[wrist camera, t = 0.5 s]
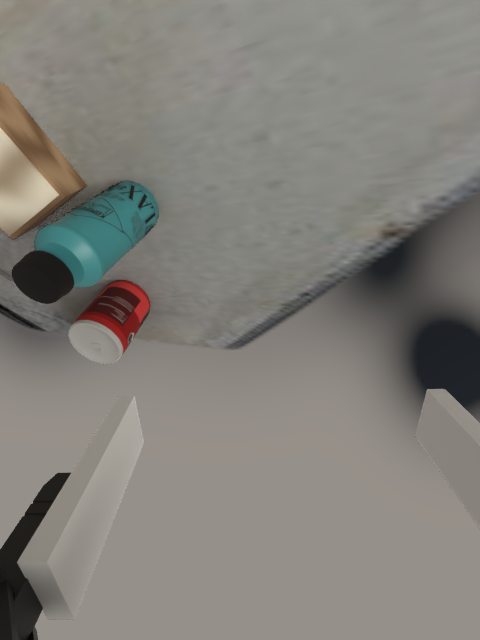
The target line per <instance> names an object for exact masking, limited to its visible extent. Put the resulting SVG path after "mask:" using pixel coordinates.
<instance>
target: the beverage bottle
mask: <svg viewBox="0 0 480 640" xmlns="http://www.w3.org/2000/svg"><path fill="white" fill-rule="evenodd" d="M112 186H113V185H112ZM103 192H104V191H103ZM78 206H79V205H78ZM71 210H72V209H71ZM66 213H68V214H67V215H65V216H64V217H62V218H61V219H59V220H57V221H56V222H54V223H52V224H51V225H48V226H45V227H44V228H42V229H41V230H39V232H38V233H37V235H36V237H35V240H34V247H35V251H32V252H30V253H29V254H27V255H26V256H25V257H24V258H23V259H22V260H21V261H19V262H18V263H17V264H16V265H15V266H14V267H13V269H12V278H13V280H14V282H15V284H16V286H17V287H18V288H19V289H20V290H21V291H22V292H23V293H24V294H25V295H26V296H28V297H29V298H31V299H33V300H35V301H37V302H40V303H45V304H50V303H54V302H56V301H57V300H59V299H60V298H61V297H63V296H64V295H66V294H67V293H69V292H70V291H71V290H72V288H73V287H79V288H86V287H91V286H93V285H95V284H96V283H97V282H98V281H99V280H100V279H101V277H102V276H103V275H104V274H105V273H106V272H107V271H108V270H109V269H110V268H111V267H112V266H113V265H114V264H115V263H116V262H117V261H118V260H119V259H120V258H121V257H122V256H123V255H124V254H126V253H127V252H128V251H129V250H130V249H131V248H132V247H133V246H134V245H135V244H136V243H137V242H139V240H140V239H142V237H143V238H144V237H145V236H146V234H147V233H148V232H149V231H150V230H151V229H152V228H153V227H154V225H155V224H156V222H158V221H157V219H158V217H159V210H158V205H157V202H156V200H155V198H154V196H153V195H152V193H151V192H150V191H149V190H148V189H147V188H145V187H144V186H143V185H141V184H139V183H136V182H132V181H131V182H130V181H126V182H121V183H117V184H116V185H114V186H113V187H111V186H110V187H109V189H108V190H106V191H105V192H104V193H102V194H101V193H100V195H97V196H95V197H94V198H93V199H92V200H90V201H89V200H88V202H86V203H84V202H83V204H82V206H80V207H78V208H77V206H76V208H75V210H74V208H73V211H72V212H66ZM144 235H145V236H144ZM137 244H138V243H137ZM135 246H136V245H135ZM132 249H133V248H132ZM129 252H130V251H129Z"/></svg>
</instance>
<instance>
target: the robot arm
mask: <svg viewBox="0 0 480 640" xmlns="http://www.w3.org/2000/svg"><path fill="white" fill-rule="evenodd" d="M415 437H416V439H417V440H418V442H419V443H420V445H421V446H422V447H423V449H424V450H425V452H426V453H427V455H428V456H429V457H430V459H431V460H432V462H433V463H434V465H435V466H436V467H437V469H438V470H439V472H440V473H441V474H442V476H443V477H444V479H445V480H446V482H447V483H448V484H449V486H450V487H451V489H452V490H453V492H454V493H455V494H456V496H457V497H458V499H459V500H460V502H461V503H462V504H463V506H464V507H465V509H466V510H467V512H468V513H469V514H470V516H471V517H472V519H473V520H474V521H475V523H476V524H477V526H478V527H479V529H480V423H479V422H478V421H477V420H476V419H475V418H474V417H473V416H472V415H471V414H469V412H468V411H467V410H466V409H464V408H463V407H462V406H461V405H460V404H459V403H458V402H457V401H456V400H455V399H454V398H453V397H452V396H451V395H450V394H449V393H448V392H447V391H446V390H445V389H427V392H426V396H425V400H424V404H423V408H422V412H421V415H420V419H419V423H418V427H417V431H416V435H415ZM143 443H144V439H143V435H142V430H141V426H140V421H139V416H138V411H137V406H136V401H135V396H118V397H117V399H116V400H115V402H114V403H113V405H112V407H111V408H110V410H109V412H108V413H107V415H106V417H105V418H104V420H103V421H102V423H101V425H100V427H99V428H98V430H97V431H96V433H95V435H94V436H93V438H92V440H91V441H90V443H89V444H88V446H87V448H86V449H85V451H84V453H83V454H82V456H81V458H80V459H79V461H78V463H77V464H76V466H75V467H74V469H73V471H72V472H71V473H57V474H56V475H55V476H54V477H53V478H52V479H50V481H48V482H47V483H46V484H45V485H44V486H43V487H42V489H41V490H40V492H39V493H38V495H37V496H36V498H35V499H34V501H33V504H31V505H30V506H29V508H28V509H27V511H26V512H25V516H24V517H22V518H21V520H20V521H19V523H18V524H17V526H16V527H15V529H14V530H13V532H12V533H11V535H10V536H9V538H8V539H7V541H6V542H5V544H4V545H3V547H2V548H1V549H0V640H38V637H37V631H36V629H35V624H36V622H37V620H38V618H39V615H40V613H41V611H42V610H43V611H44V613H45V615H46V617H47V619H48V620H74V619H75V617H76V615H77V612H78V609H79V607H80V604H81V602H82V599H83V597H84V594H85V592H86V589H87V587H88V584H89V581H90V579H91V576H92V574H93V571H94V569H95V566H96V563H97V561H98V558H99V556H100V553H101V551H102V548H103V546H104V543H105V541H106V538H107V536H108V533H109V530H110V528H111V525H112V523H113V520H114V517H115V515H116V512H117V510H118V507H119V505H120V502H121V500H122V497H123V495H124V492H125V490H126V487H127V484H128V482H129V479H130V477H131V474H132V472H133V469H134V466H135V464H136V461H137V459H138V456H139V454H140V451H141V449H142V446H143Z"/></svg>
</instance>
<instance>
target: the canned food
mask: <svg viewBox="0 0 480 640" xmlns="http://www.w3.org/2000/svg"><path fill="white" fill-rule="evenodd" d="M149 311H150V301H149V298H148V296H147V294H146V293H145V292H144V291H143V290H142V289H141V288H140V287H139V286H137V285H136V284H134V283H132V282H129V281H125V280H119V281H115V282H113V283H111V284H109V285H108V286H107V287H106V288H105V289H104V290H103V291H102V292H101V294H100V295H99V296H98V297H97V298H96V299H95V300H94V301H93V302H92V303H91V304H90V305H89V306H88V307H87V309H86V310H85V311H84V312H83V313H82V314H81V315H80V316H79V317H78V318H77V319H76V321H75V322H74V323H73V324H72V325H71V327H70V328H69V330H68V337H69V340H70V342H71V344H72V346H73V347H74V348H75V349H76V350H77V351H78V352H79V353H80V354H82V355H83V356H84V357H86V358H88V359H90V360H92V361H94V362H97V363H102V364H112V363H115V362H116V361H118V359H119V358H120V357H121V356H122V355H123V353H124V352H125V350H126V349H127V347H128V346H129V344H130V342H131V341H132V339H133V338H134V336H135V335H136V333H137V331H138V330H139V328H140V327H141V325H142V324H143V322H144V320H145V319H146V317H147V316H148V314H149Z"/></svg>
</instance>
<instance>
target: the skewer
mask: <svg viewBox="0 0 480 640" xmlns="http://www.w3.org/2000/svg"><path fill="white" fill-rule="evenodd" d="M0 275H2V276H3V277H5V278H7V279H8V280H10V281H12V282H14V280H13V278H12V277H11V276H9V275H8V274H6V273H4V272H3V271H1V270H0Z"/></svg>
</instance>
